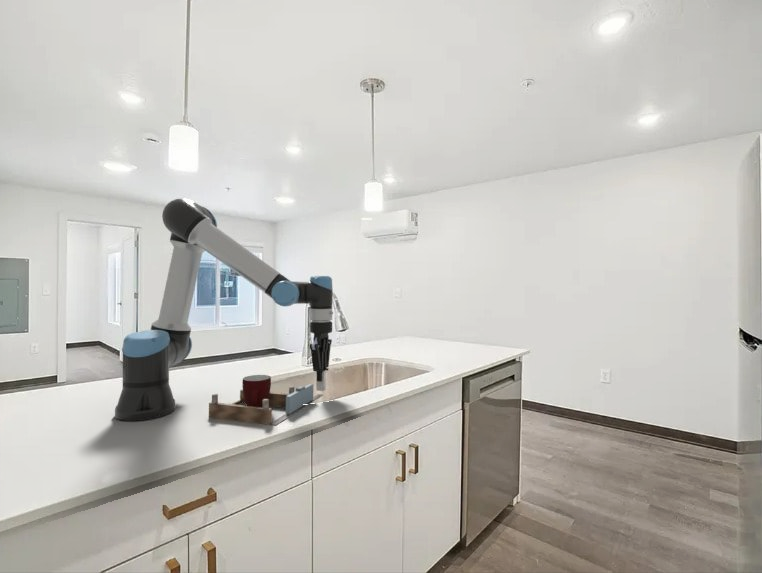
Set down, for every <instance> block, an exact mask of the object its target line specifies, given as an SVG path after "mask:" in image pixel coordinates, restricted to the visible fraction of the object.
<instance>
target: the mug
mask: <svg viewBox="0 0 762 573" xmlns="http://www.w3.org/2000/svg"><path fill="white" fill-rule="evenodd" d="M241 386H242V389H243V394H244V399H245V403H244V404H245V406H253V407H262V408H263V400H264V399H269V394H270V392H271V388H272V377H271V376H270V375H269V374H268V375H267V374H254V375H248V376H244V377H243V378H242V385H241Z"/></svg>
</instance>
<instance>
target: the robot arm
mask: <svg viewBox="0 0 762 573" xmlns="http://www.w3.org/2000/svg"><path fill="white" fill-rule="evenodd" d="M161 215H162V216H161V218H162V223H163V225H164V227H165V229H167V230H168V231H169V232H170V237H169V242H170V243H171V244H172V246H173V249H172V253H171V259H170V262H169V266H168V267H169V268H168V273H167V278H166V281H165V287H164V291H163V296H162V301H161V304H160V305H161V306H160V310H159V314H158V319H156V320H155V321H154V322H152V323H151V327H150V329H148V330H141V331H136V332H132V333H129V334H128V335H126V336H125V337H124V339H123V343H122V348H121V351H122V352H121V353H122V387H121V388H122V389H121V393H120V396H119V398H118V401H117V405H116V406H115V409H114V418H115V419H116V420H119V421H123V422H125V421H126V422H137V421H138V422H139V421H144V420H145V421H146V420H152V419H157V418H160V417H163V416H166V415H169V414H171V413H173V412H175V410H176V400H175V398H174V396H173V393H172V389H171V386H170V368H171V367H173V366H177V365H179V364H180V363H182V362H183V361H184V360H185V359H186V358H187V357H188V356H189V355H190V353H191V352H192V348H193V342H192V337H190V336H191V331H192V327H191V326H190V324H189V323H188V322H189V316H190V312H191V308H192V304H193V298H194V295H195V294H194V292H195V290H196V284H197V279H198V274H199V272H200V271H199V270H200V266H201V261H202V257H203V253H204V252H207V253H208V254H210V255H211V256H212V257H213V258H215V259H217V260H218V261H220V262H221V263H222V264H224V265H225V266H226V267H228V268H229V269H230V270H232V271H233V272H235V273H236V274H237V275H239V276H240V277H242V278H243V279H245V280H246V281H248V282H249V284H252V285H253V286H255V287H256V288H257V289H258V290H260V291H262V292H263V293H265V294H266V295H267V296H268V297H269V298H271V299H272V301H274V303H275V304H277V305H279V306H281V307H289V306H290V307H291V306H293V305H295V304H296V305H300V304H301V305H302V304H304V305H305V304H306V305H307V304H309V305H310V306H309V319H310V322H309V332H310V333H311V334H313V338H312V340H313V343H309V349H310V354H311V363H312V370H313V372H316V376H315V377H316V379H315V380H316V381H315V382H316V389H315V390H316V391H319V392H325V391H326V390H327V388H326V387H327V386H326V384H327V383H326V382H327V380H326V379H327V378H326V372H327V371H329V366H330V356H331V345H332V342H333V341H332V339H331V338H330V337H329V334H331V333H332V332H333V322H332V320H333V314H334V312H333V279H332V277H331V276H329V275H311V276H310V277H309V281H291V280H290V279H289V278H287V277H286V276H285V275H283V274H281V273H280V272H278V271H277V270H276V269H275V268H273V267H271V266H270V265H269V264H268V263H267V262H265V261H263V259H261V258H260V257H258V256H257V255H255V254H254V253H253V252H251V251H250V250H249V249H247V248H246V247H244V246H243V245H242V244H240V242H237V241H236V240H235V239H233V238H232V237H231V236H229V235H228V234H226V233H225V232H224V231H222V230H221V229H220V228H219V227H218V222H217V219H216V217H215V216H214V214H213V213H212V212H211V211H210V210H209V209H208V208H207V207H205V206H202V205H200V204H198V203H197V202H195V201H193V200H192V199H189V198H188V199H187V198H183V197H181V198H175V199H172V200H171V201H170V202H169V201H168V203H167V204H166V205H165V206H164V208H163V211H162V214H161ZM329 338H330V339H329Z"/></svg>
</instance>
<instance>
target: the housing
mask: <svg viewBox="0 0 762 573" xmlns="http://www.w3.org/2000/svg"><path fill="white" fill-rule="evenodd" d="M293 392H295V386H291V385H290V386H288V393H283V392H272V391H270V394H269V399H264V400H263V408H262V407H253V406H246V405H242V404H245V399H244V394H243V388H242V389H240V391H239V400H237V401H234V402H232V403H226V402H225V403H224V402H223V403H222V402H219V394H218V393H212V394H211V402H208V418H212V419H220V420H222V419H223V420H228V421H237V422H243V423H253V424H262V425H270V426H274V427H275V426H277V425H279V424H280V423H282V422H284V421H285V420H287V419H288V418H289V417H292V416H293V415H294V413H295V414H296V413H297V412H299V411H301V410H303V408H306V407H307V406H308V405H303V406H302V407H300V408H298V409H297V410H295V411H294V412H292V413H290V414H286V413H285V414H283V415H282V416H279V417H278V418H276V419H275V420H273V421H272V419H273V417H272V415H273V412H272V411H273V410H272V409H273V408H270V407H274V408H285V409H286V396H288V395H290V394H291V393H293ZM323 396H324V394H320V393H318V394H315V395H313V400H311V401H310V402H308V403H306V404H309V405H310V404H312V403H313V402H315V401H317V400H318V399H320V398H321V397H323ZM305 406H306V407H305Z"/></svg>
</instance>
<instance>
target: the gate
mask: <svg viewBox="0 0 762 573" xmlns="http://www.w3.org/2000/svg"><path fill="white" fill-rule="evenodd" d="M313 397H314V383H309V384H307V385H299V386H297V387H295V390H294V392H293V393H291V394H290V395H288V396H286V408H285V414H290V413H292V412H294V411H295V410H297V409H298V408H300V407H302V406H303V404H306V403H308V402H310V401H311V400H313Z"/></svg>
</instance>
